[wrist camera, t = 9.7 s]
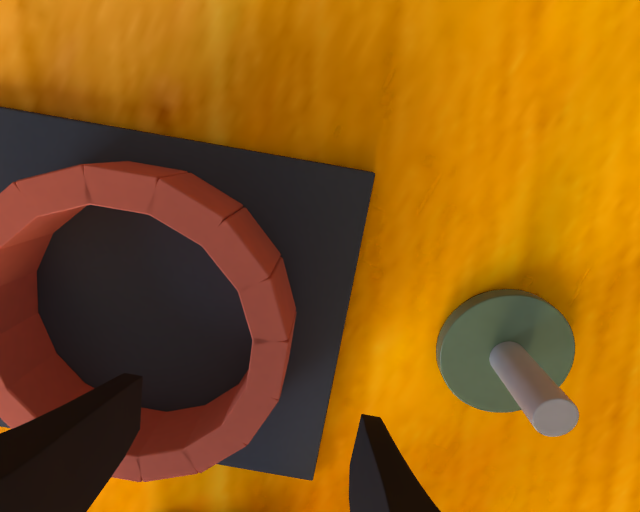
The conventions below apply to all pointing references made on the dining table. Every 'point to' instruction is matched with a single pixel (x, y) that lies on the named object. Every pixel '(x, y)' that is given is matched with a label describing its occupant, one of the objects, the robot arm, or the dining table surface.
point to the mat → (194, 277)
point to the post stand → (510, 358)
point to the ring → (196, 224)
